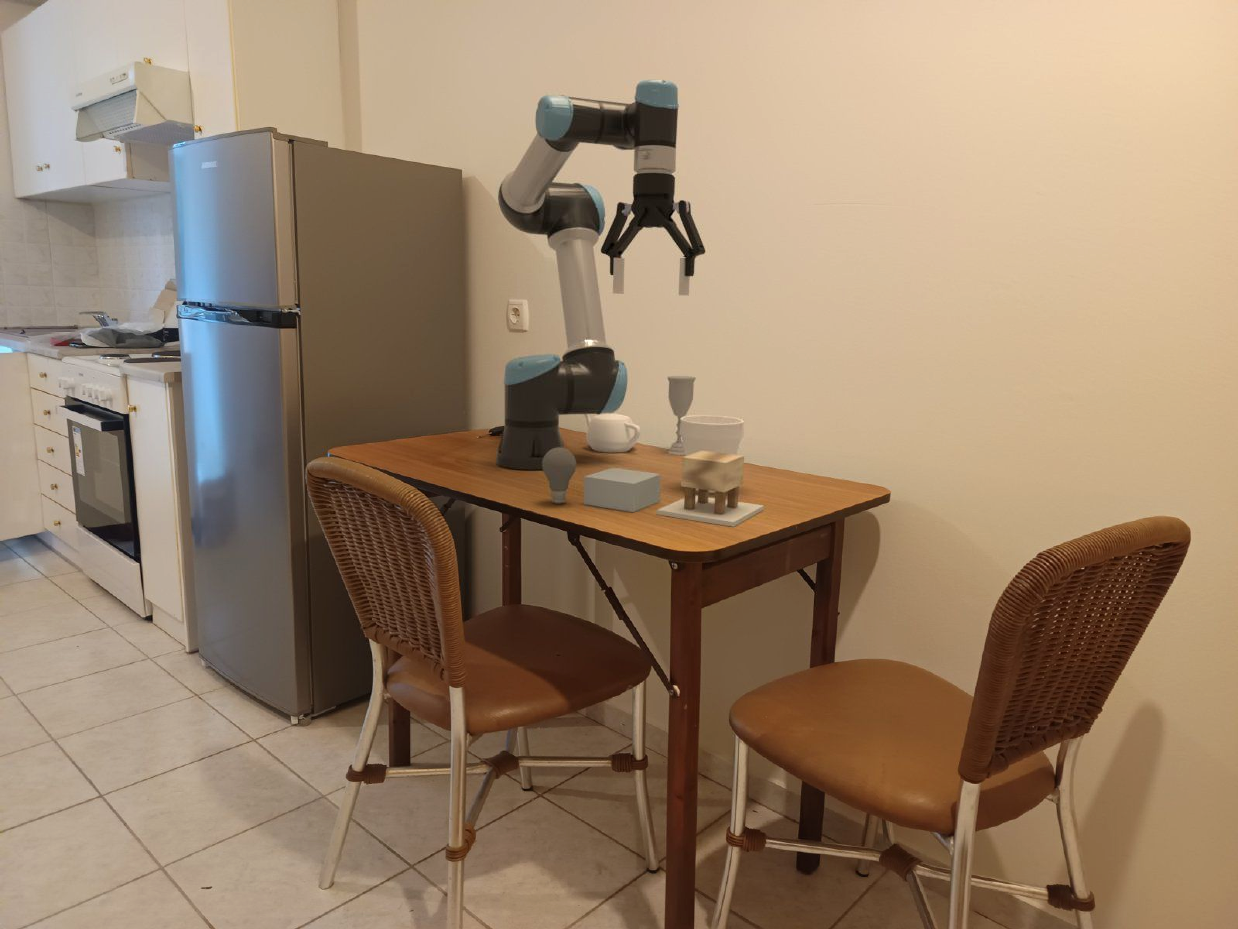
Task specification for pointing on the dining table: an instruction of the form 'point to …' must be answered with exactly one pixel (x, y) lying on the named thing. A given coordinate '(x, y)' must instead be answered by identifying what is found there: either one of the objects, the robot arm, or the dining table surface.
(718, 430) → the cup
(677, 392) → the chalice
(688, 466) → the stool
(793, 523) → the dining table surface
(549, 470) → the light bulb
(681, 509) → the mat
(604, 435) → the teapot
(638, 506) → the gray square block
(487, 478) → the dining table surface
